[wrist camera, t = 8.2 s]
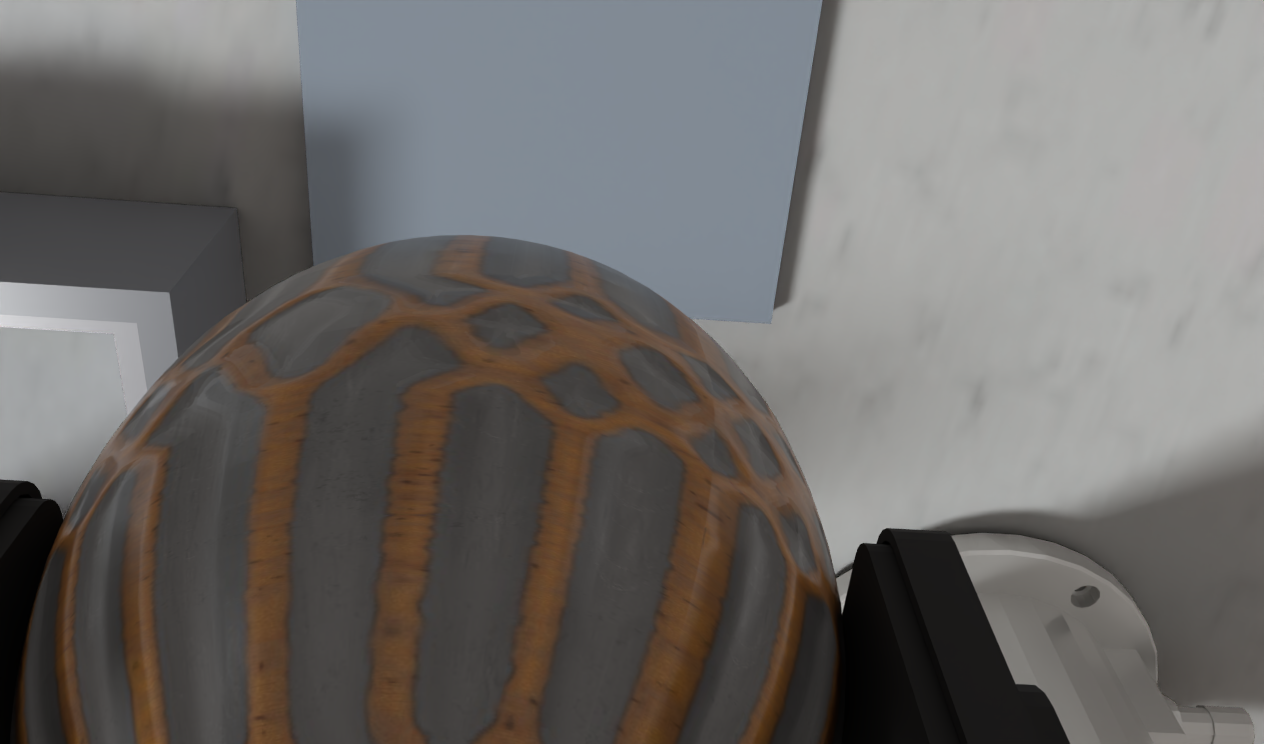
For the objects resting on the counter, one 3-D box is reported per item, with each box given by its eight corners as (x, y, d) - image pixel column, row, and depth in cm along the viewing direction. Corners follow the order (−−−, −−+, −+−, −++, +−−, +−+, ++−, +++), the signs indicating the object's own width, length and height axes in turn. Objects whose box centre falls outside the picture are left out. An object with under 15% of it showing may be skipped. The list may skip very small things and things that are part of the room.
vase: (96, 475, 14) (-558, 1416, 6) (399, 11, 11) (-57, 602, 3) (557, 716, 16) (516, 1632, 8) (899, 377, 13) (1317, 1245, 5)
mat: (845, -178, 24) (850, -176, 24) (768, 313, 30) (770, 323, 30) (288, -228, 24) (281, -227, 23) (320, 284, 29) (315, 294, 29)
